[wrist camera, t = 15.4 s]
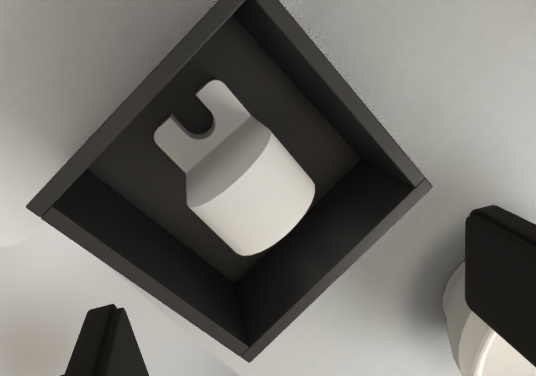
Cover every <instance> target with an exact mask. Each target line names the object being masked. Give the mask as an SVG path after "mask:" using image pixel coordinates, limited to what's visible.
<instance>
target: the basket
mask: <svg viewBox="0 0 536 376" xmlns="http://www.w3.org/2000/svg"><path fill="white" fill-rule="evenodd" d="M210 79H217V80H219V81H221V82H223V83H224V84H225V85H226V86H227V88H228V89H229V90H230V91H231V92H232V94H233V95H234V96H235V97H236V98H237V99H238V101H239V102H240V103H241V104H242V105H243V107H244V108H245V109H246V110H247V111H248V112H249V114H250V115H251V116H252V117H254V118H255V119H256V120H258V121H259V122H260V123H261V124H263V125H264V126H265V127H267V128H268V129H269V130H270V131H271V132H272V133H273V134H274V136H275V137H276V138H277V139H278V140H279V142H280V143H281V144H282V145H283V146H284V148H285V149H286V150H287V151H288V152H289V153H290V155H291V156H292V157H293V158H294V159H295V161H296V162H297V163H298V164H299V165H300V167H301V168H302V169H303V170H304V171H305V173H306V174H307V175H308V176H309V177H310V178H311V180H312V181H313V183H314V185H315V194H314V197H313V200H312V203H311V205H310V206H309V208H308V210H307V212H306V213H305V215H304V216H303V217H302V218H301V220H300V221H299V222H298V224H297V225H296V226H295V227H294V228H293V229H292V230H291V231H290V232H289V233H288V234H287V235H286V236H284V237H283V238H282V239H280V240H279V241H278V242H277V243H275V244H274V245H272V246H271V247H269V248H267V249H265V250H263V251H262V252H259V253H256V254H253V255H246V256H242V255H240V254H237V253H236V252H235V251H234V250H233V249H232V248H231V247H230V246H229V245H228V244H227V243H225V242H224V241H223V240H222V239H221V238H220V237H219V236H218V235H217V234H216V233H215V232H214V231H213V230H212V229H211V228H210V227H209V226H208V225H207V224H206V223H205V222H204V221H203V220H202V219H201V218H200V217H198V216H197V215H196V214H195V213H194V212H193V211H192V210H191V209H190V208H189V207H188V205H187V194H186V173H185V172H184V171H183V170H182V169H181V168H180V167H179V166H178V165H177V164H176V163H175V162H174V161H173V160H172V159H171V158H170V157H169V156H168V155H167V154H166V153H165V152H164V151H163V150H162V149H161V148H160V147H159V146H158V145H157V144H156V142H155V140H154V133H155V131H156V128H157V126H158V125H159V124H160V123H161V122H162V121H163V120H164V119H165V118H166V117H168V116H169V115H170V114H172V115H173V116H174V117H175V118H176V119H177V120H178V121H179V122H180V123H181V124H182V125H183V127H184V128H185V129H186V130H188V131H189V132H191V133H193V134H202V133H205V132H206V131H208V130H209V129H210V128H211V126H212V123H213V115H212V112H211V111H210V110H209V109H208V108H207V107H206V106H205V105H204V103H203V102H202V101H201V100H200V99H199V98H198V97H197V96H196V94H195V91H196V90H198V89H199V88H200V87H201V86H202V85H203V84H204V83H205V82H206V81H208V80H210ZM431 188H432V185H431V184H430V183H429V181H428V180H427V179H426V178H425V177H424V175H423V174H422V173H421V172H420V171H419V169H418V168H417V167H416V166H415V164H414V163H413V162H412V161H411V160H410V158H409V157H408V156H407V155H406V154H405V152H404V151H403V150H402V149H401V148H400V146H399V145H398V144H397V143H396V142H395V140H394V139H393V138H392V137H391V135H390V134H389V133H388V132H387V131H386V129H385V128H384V127H383V126H382V125H381V123H380V122H379V121H378V120H377V119H376V117H375V116H374V115H373V114H372V112H371V111H370V110H369V109H368V108H367V106H366V105H365V104H364V103H363V102H362V100H361V99H360V98H359V97H358V96H357V94H356V93H355V92H354V91H353V90H352V88H351V87H350V86H349V85H348V83H347V82H346V81H345V80H344V79H343V77H342V76H341V75H340V74H339V73H338V71H337V70H336V69H335V68H334V67H333V65H332V64H331V63H330V62H329V61H328V59H327V58H326V57H325V56H324V54H323V53H322V52H321V51H320V50H319V48H318V47H317V46H316V45H315V44H314V42H313V41H312V40H311V39H310V38H309V36H308V35H307V34H306V33H305V31H304V30H303V29H302V28H301V27H300V25H299V24H298V23H297V22H296V21H295V19H294V18H293V17H292V16H291V15H290V13H289V12H288V11H287V10H286V9H285V7H284V6H283V5H282V4H281V2H280V1H279V0H219V1H218V2H217V3H216V4H215V5H214V6H213V7H212V8H211V9H210V10H209V11H208V12H207V13H206V14H205V16H204V17H203V18H202V19H201V20H200V21H199V22H198V23H197V24H196V25H195V26H194V27H193V28H192V29H191V30H190V32H189V33H188V34H187V35H186V36H185V37H184V38H183V39H182V40H181V41H180V42H179V43H178V44H177V45H176V46H175V48H174V49H173V50H172V51H171V52H170V53H169V54H168V55H167V56H166V57H165V58H164V59H163V60H162V61H161V62H160V64H159V65H158V66H157V67H156V68H155V69H154V70H153V71H152V72H151V73H150V74H149V75H148V76H147V77H146V78H145V80H144V81H143V82H142V83H141V84H140V85H139V86H138V87H137V88H136V89H135V90H134V91H133V92H132V93H131V94H130V96H129V97H128V98H127V99H126V100H125V101H124V102H123V103H122V104H121V105H120V106H119V107H118V108H117V109H116V110H115V112H114V113H113V114H112V115H111V116H110V117H109V118H108V119H107V120H106V121H105V122H104V123H103V124H102V125H101V126H100V128H99V129H98V130H97V131H96V132H95V133H94V134H93V135H92V136H91V137H90V138H89V139H88V140H87V141H86V142H85V144H84V145H83V146H82V147H81V148H80V149H79V150H78V151H77V152H76V153H75V154H74V155H73V156H72V157H71V158H70V160H69V161H68V162H67V163H66V164H65V165H64V166H63V167H62V168H61V169H60V170H59V171H58V172H57V173H56V174H55V176H54V177H53V178H52V179H51V180H50V181H49V182H48V183H47V184H46V185H45V186H44V187H43V188H42V189H41V190H40V191H39V193H38V194H37V195H36V196H35V197H34V198H33V199H32V200H31V201H30V202H29V203H28V204H27V205H26V208H27V209H29V210H30V211H32V212H33V213H34V214H36V215H37V216H39V217H41V219H43V220H44V221H45V222H47V223H48V224H50V225H51V226H53V227H54V228H55V229H57V230H58V231H60V232H61V233H63V234H64V235H66V236H67V237H68V238H70V239H71V240H73V241H74V242H76V243H77V244H79V245H80V246H82V247H83V248H84V249H86V250H87V251H89V252H90V253H92V254H93V255H94V256H96V257H97V258H99V259H100V260H102V261H103V262H104V263H106V264H107V265H109V266H110V267H112V268H113V269H115V270H116V271H117V272H119V273H120V274H122V275H123V276H125V277H126V278H127V279H129V280H130V281H132V282H133V283H135V284H136V285H138V286H139V287H140V288H142V289H143V290H145V291H146V292H148V293H149V294H151V295H152V296H153V297H155V298H156V299H158V300H159V301H161V302H162V303H163V304H165V305H166V306H168V307H169V308H171V309H172V310H174V311H175V312H176V313H178V314H179V315H181V316H182V317H184V318H185V319H187V320H188V321H189V322H191V323H192V324H194V325H195V326H197V327H198V328H199V329H201V330H202V331H204V332H205V333H207V334H208V335H210V336H211V337H212V338H214V339H215V340H217V341H218V342H220V343H221V344H223V345H224V346H225V347H227V348H228V349H230V350H231V351H233V352H234V353H235V354H237V355H238V356H241V357H242V358H243V359H244V360H246V361H247V362H249V363H250V362H251V361H252V360H253V359H254V358H255V357H256V356H257V355H258V354H260V353H261V352H262V351H263V350H264V349H265V348H266V347H267V346H268V345H269V344H270V343H271V342H272V341H273V340H274V339H275V338H276V337H277V336H278V335H279V334H280V333H281V332H282V331H283V330H284V329H286V328H287V327H288V326H289V325H290V324H291V323H292V322H293V321H294V320H295V319H296V318H297V317H298V316H299V315H300V314H301V313H302V312H303V311H304V310H305V309H306V308H307V307H308V306H309V305H310V304H312V303H313V302H314V301H315V300H316V299H317V298H318V297H319V296H320V295H321V294H322V293H323V292H324V291H325V290H326V289H327V288H328V287H329V286H330V285H331V284H332V283H333V282H334V281H335V280H336V279H337V278H339V277H340V276H341V275H342V274H343V273H344V272H345V271H346V270H347V269H348V268H349V267H350V266H351V265H352V264H353V263H354V262H355V261H356V260H357V259H358V258H359V257H360V256H361V255H362V254H363V253H365V252H366V251H367V250H368V249H369V248H370V247H371V246H372V245H373V244H374V243H375V242H376V241H377V240H378V239H379V238H380V237H381V236H382V235H383V234H384V233H385V232H386V231H387V230H388V229H389V228H391V227H392V226H393V225H394V224H395V223H396V222H397V221H398V220H399V219H400V218H401V217H402V216H403V215H404V214H405V213H406V212H407V211H408V210H409V209H410V208H411V207H412V206H413V205H414V204H415V203H416V202H418V201H419V200H420V199H421V198H422V197H423V196H424V195H425V194H426V193H427V192H428V191H429V190H430V189H431Z"/></svg>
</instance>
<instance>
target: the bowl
mask: <svg viewBox="0 0 536 376" xmlns="http://www.w3.org/2000/svg"><path fill="white" fill-rule="evenodd" d="M443 310H444V314H445V316H446V318H447V331H448V336H449V341H450V345H451V350H452V354H453V358H454V360H455V362H456V364H457V366H458V368H459V369H460V371H461V374H462V376H536V367H534V366H533V365H532V364H531V363H530V362H529V361H528V360H527V359H525V358H524V357H523V356H522V355H521V354H520V353H519V352H518V351H516V350H515V349H514V348H513V347H512V346H511V345H510V344H509V343H507V342H506V341H505V340H504V339H503V338H502V337H501V336H500V335H498V334H497V333H496V332H495V331H494V330H493V329H492V328H491V327H489V326H488V325H487V324H486V323H485V322H484V321H483V320H482V319H480V318H479V317H478V316H477V315H476V314H475V313H474V312H472V311H471V310H470V308H469V307H468V305H467V303H466V301H465V261H464V262H463V263H462V264H461V265H460V266H459V267H458V268H457V269H456V270H455V272H454V273H453V274H452V276H451V278H450V279H449V281H448V283H447V286H446V288H445V291H444V295H443Z"/></svg>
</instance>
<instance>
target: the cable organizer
mask: <svg viewBox="0 0 536 376" xmlns="http://www.w3.org/2000/svg"><path fill="white" fill-rule="evenodd" d="M195 94H196V96H197V97H198V98H199V99H200V100H201V101H202V102H203V103H204V105H205V106H206V107H207V108H208V109H209V110H210V111H211V112H212V115H213V123H212V126H211V128H210V129H209V130H208V131H206V132H205V133H202V134H193V133H191V132H189V131H188V130H186V129H185V128H184V127H183V125H182V124H181V123H180V122H179V121H178V120H177V119H176V118H175V117H174V116H173V115H172V114H170V115H169V116H168V117H166V118H165V119H164V120H163V121H162V122H161V123H160V124H159V125H158V126H157V128H156V131H155V133H154V140H155V142H156V144H157V145H158V146H159V147H160V148H161V149H162V150H163V151H164V152H165V153H166V154H167V155H168V156H169V157H170V158H171V159H172V160H173V161H174V162H175V163H176V164H177V165H178V166H179V167H180V168H181V169H182V170H183V171H184V172H185V173H186V194H187V205H188V207H189V208H190V209H191V210H192V211H193V212H194V213H195V214H196V215H197V216H198V217H200V218H201V219H202V220H203V221H204V222H205V223H206V224H207V225H208V226H209V227H210V228H211V229H212V230H213V231H214V232H215V233H216V234H217V235H218V236H219V237H220V238H221V239H222V240H223V241H224V242H225V243H227V244H228V245H229V246H230V247H231V248H232V249H233V250H234V251H235V252H236V253H237V254H240V255H242V256H246V255H253V254H256V253H259V252H262V251H263V250H265V249H267V248H269V247H271V246H272V245H274V244H275V243H277V242H278V241H279V240H280V239H282V238H283V237H284V236H286V235H287V234H288V233H289V232H290V231H291V230H292V229H293V228H294V227H295V226H296V225H297V224H298V222H299V221H300V220H301V218H302V217H303V216H304V215H305V213H306V212H307V210H308V208H309V206H310V205H311V203H312V200H313V197H314V194H315V185H314V183H313V181H312V180H311V178H310V177H309V176H308V175H307V174H306V173H305V171H304V170H303V169H302V168H301V167H300V165H299V164H298V163H297V162H296V161H295V159H294V158H293V157H292V156H291V155H290V153H289V152H288V151H287V150H286V149H285V148H284V146H283V145H282V144H281V143H280V142H279V140H278V139H277V138H276V137H275V136H274V134H273V133H272V132H271V131H270V130H269V129H268V128H267V127H265V126H264V125H263V124H261V123H260V122H259V121H258V120H256V119H255V118H254V117H252V116H251V115H250V114H249V112H248V111H247V110H246V109H245V108H244V107H243V105H242V104H241V103H240V102H239V101H238V99H237V98H236V97H235V96H234V95H233V94H232V92H231V91H230V90H229V89H228V88H227V86H226V85H225V84H224V83H223V82H221V81H219V80H217V79H210V80H208V81H206V82H205V83H204V84H203V85H202V86H201V87H200V88H199V89H198V90H196V91H195Z"/></svg>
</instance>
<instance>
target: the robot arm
mask: <svg viewBox="0 0 536 376" xmlns="http://www.w3.org/2000/svg"><path fill="white" fill-rule="evenodd" d="M465 301H466V303H467V305H468V307H469V308H470V310H471V311H472V312H474V313H475V314H476V315H477V316H478V317H479V318H480V319H482V320H483V321H484V322H485V323H486V324H487V325H488V326H489V327H491V328H492V329H493V330H494V331H495V332H496V333H497V334H498V335H500V336H501V337H502V338H503V339H504V340H505V341H506V342H507V343H509V344H510V345H511V346H512V347H513V348H514V349H515V350H516V351H518V352H519V353H520V354H521V355H522V356H523V357H524V358H525V359H527V360H528V361H529V362H530V363H531V364H532V365H533V366H534V367H536V225H535V224H533V223H531V222H529V221H527V220H525V219H523V218H521V217H519V216H517V215H515V214H513V213H511V212H508V211H506V210H504V209H502V208H500V207H498V206H495V205H491V206H487V207H483V208H479V209H475V210H473V211H471V213H470V216H469V217H468V218H467V219H466V226H465ZM61 376H149V374H148V371H147V369H146V366H145V363H144V360H143V358H142V355H141V352H140V349H139V347H138V344H137V341H136V338H135V336H134V333H133V330H132V327H131V325H130V322H129V319H128V316H127V314H126V311H125V310H124V308H119V309H117V307H116V306H115V305H114V304H111V305H107V306H103V307H99V308H95V309H91V310H89V311H88V313H87V315H86V318H85V320H84V323H83V326H82V328H81V331H80V334H79V337H78V339H77V342H76V345H75V347H74V350H73V353H72V356H71V358H70V361H69V364H68V367H67V369H66V372H65V374H64V375H61Z"/></svg>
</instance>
